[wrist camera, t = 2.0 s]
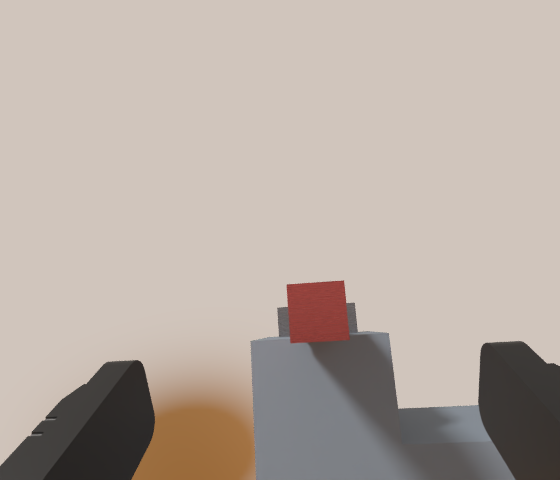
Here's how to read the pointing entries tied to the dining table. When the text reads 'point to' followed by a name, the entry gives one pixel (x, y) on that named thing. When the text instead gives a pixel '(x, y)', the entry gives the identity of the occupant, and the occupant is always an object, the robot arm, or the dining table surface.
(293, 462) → the stand
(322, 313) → the grey red bar
